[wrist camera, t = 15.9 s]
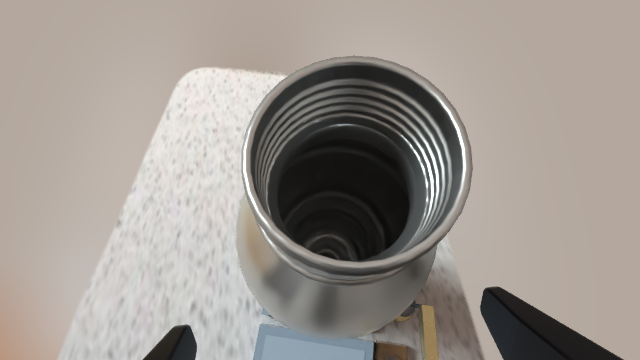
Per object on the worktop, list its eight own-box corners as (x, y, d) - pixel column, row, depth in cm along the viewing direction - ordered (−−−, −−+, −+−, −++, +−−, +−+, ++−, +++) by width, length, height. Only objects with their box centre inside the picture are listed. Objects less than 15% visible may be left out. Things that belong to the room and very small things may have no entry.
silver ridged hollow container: (378, 238, 24) (594, 51, 5) (349, 324, 22) (541, 530, 3) (305, 209, 25) (265, -44, 6) (270, 288, 23) (36, 277, 4)
